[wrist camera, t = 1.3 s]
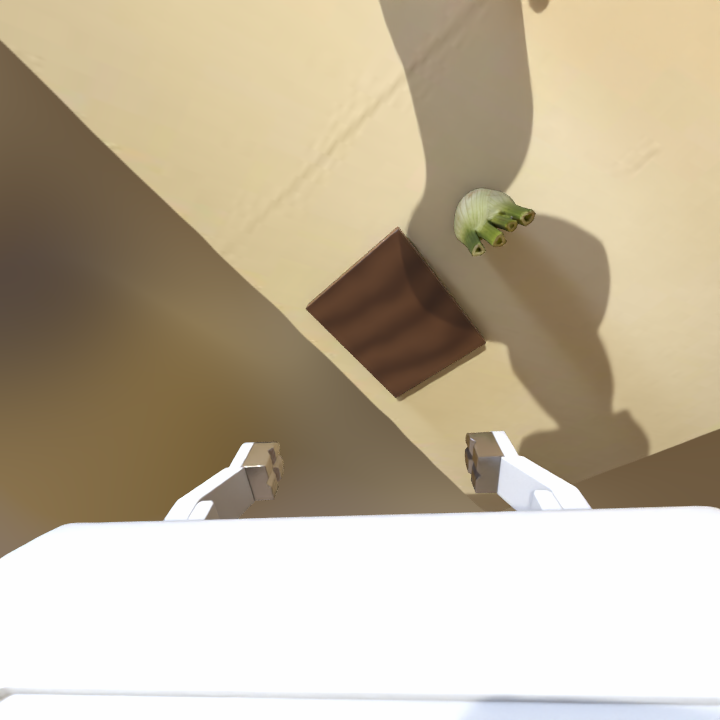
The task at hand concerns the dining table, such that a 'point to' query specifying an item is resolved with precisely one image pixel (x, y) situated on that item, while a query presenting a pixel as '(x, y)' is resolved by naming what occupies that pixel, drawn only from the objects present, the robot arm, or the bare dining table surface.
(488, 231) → the fennel bulb
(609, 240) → the dining table surface
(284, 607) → the robot arm
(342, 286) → the cutting board
